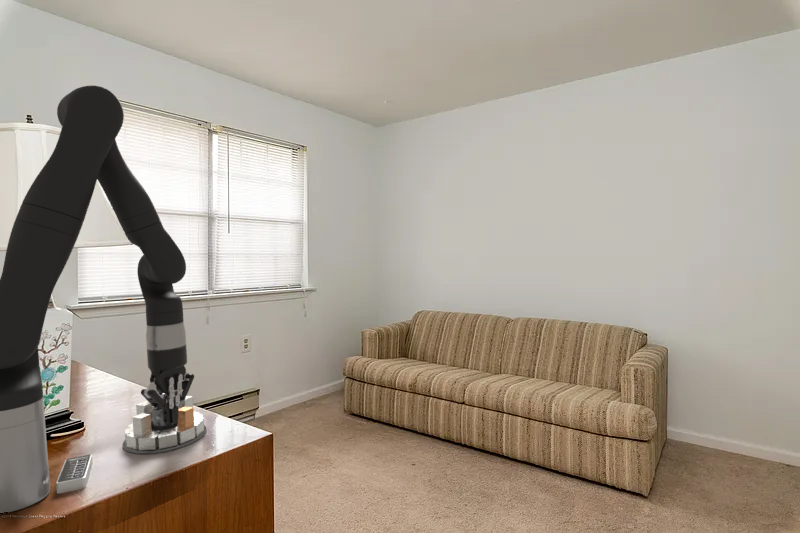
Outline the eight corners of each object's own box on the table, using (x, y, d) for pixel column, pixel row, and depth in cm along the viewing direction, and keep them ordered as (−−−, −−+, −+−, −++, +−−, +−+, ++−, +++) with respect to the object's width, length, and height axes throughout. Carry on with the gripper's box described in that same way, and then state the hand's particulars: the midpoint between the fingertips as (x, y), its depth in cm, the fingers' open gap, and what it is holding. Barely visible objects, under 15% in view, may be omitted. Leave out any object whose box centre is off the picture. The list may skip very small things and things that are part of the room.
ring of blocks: (152, 460, 96) (150, 425, 95) (106, 444, 104) (104, 411, 104) (222, 430, 110) (220, 399, 110) (176, 418, 119) (175, 389, 118)
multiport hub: (56, 496, 84) (55, 483, 84) (66, 470, 94) (65, 458, 93) (86, 489, 86) (85, 477, 86) (92, 464, 96) (92, 453, 95)
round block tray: (153, 455, 96) (151, 424, 96) (110, 440, 104) (108, 412, 104) (218, 427, 110) (216, 400, 110) (176, 416, 118) (174, 391, 118)
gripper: (156, 352, 93) (161, 438, 94) (203, 338, 105) (207, 414, 106) (126, 351, 95) (131, 435, 96) (175, 337, 108) (180, 411, 109)
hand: (171, 424), depth 101 cm, fingers closed
